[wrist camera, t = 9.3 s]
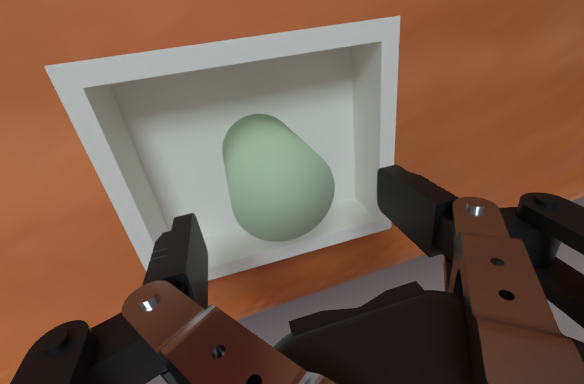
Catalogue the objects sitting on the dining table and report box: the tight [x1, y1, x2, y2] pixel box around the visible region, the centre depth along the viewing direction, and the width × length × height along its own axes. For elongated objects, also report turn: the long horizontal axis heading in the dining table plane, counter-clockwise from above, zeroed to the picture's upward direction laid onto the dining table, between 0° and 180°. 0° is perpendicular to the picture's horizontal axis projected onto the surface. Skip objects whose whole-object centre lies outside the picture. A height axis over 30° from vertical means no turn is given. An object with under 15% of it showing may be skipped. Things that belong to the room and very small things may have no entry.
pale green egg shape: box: [222, 114, 335, 242], centre depth 16 cm, size 5×5×7 cm
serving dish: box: [44, 16, 400, 281], centre depth 18 cm, size 16×13×4 cm
